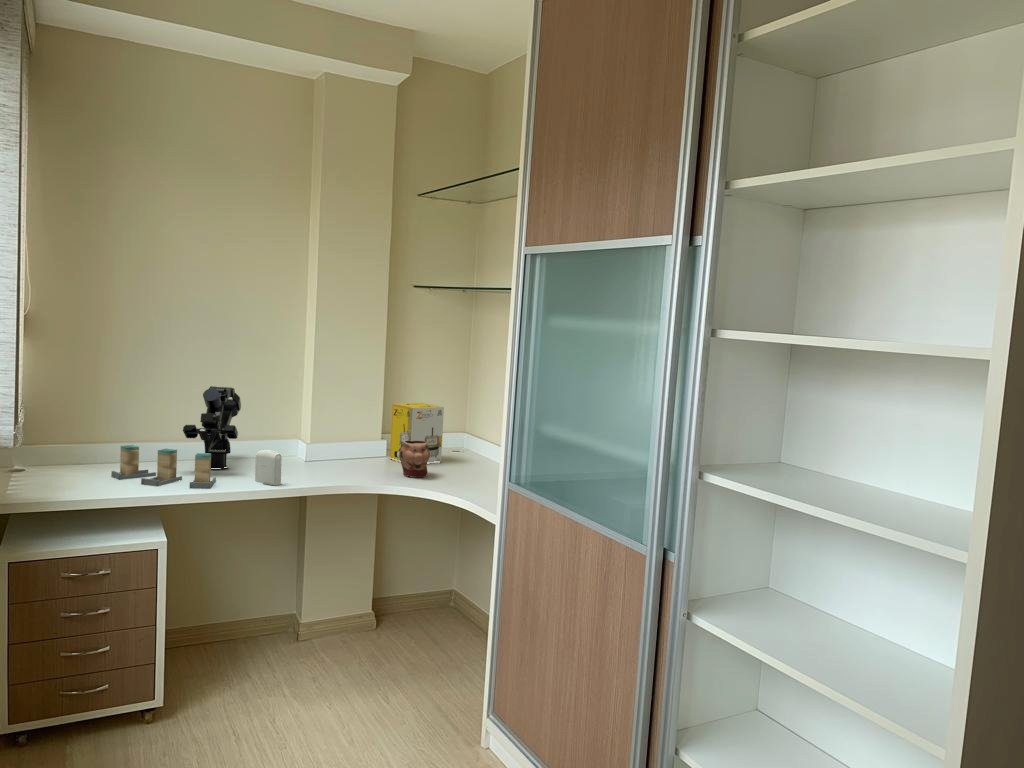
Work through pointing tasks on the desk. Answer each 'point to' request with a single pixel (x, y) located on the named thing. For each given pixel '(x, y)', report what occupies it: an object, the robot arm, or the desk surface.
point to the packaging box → (417, 427)
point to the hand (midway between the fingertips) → (207, 451)
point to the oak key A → (129, 460)
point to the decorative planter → (414, 458)
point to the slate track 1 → (140, 474)
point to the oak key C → (202, 467)
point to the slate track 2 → (158, 481)
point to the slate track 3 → (202, 484)
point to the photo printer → (268, 467)
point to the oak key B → (166, 464)
